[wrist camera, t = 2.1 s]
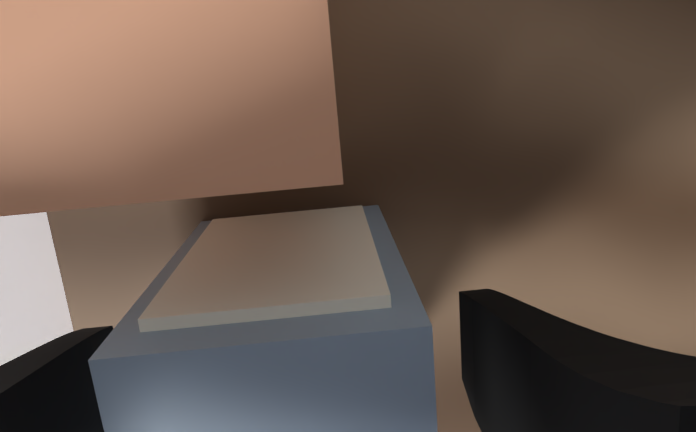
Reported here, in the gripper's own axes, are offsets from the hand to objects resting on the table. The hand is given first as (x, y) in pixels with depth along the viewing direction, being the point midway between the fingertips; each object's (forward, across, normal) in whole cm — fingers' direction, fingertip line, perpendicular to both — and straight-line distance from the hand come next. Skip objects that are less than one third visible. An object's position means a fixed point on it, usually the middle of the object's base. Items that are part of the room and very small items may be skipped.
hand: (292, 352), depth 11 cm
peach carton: (+3, +1, -6) cm, 7 cm away
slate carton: (+3, 0, 0) cm, 3 cm away
